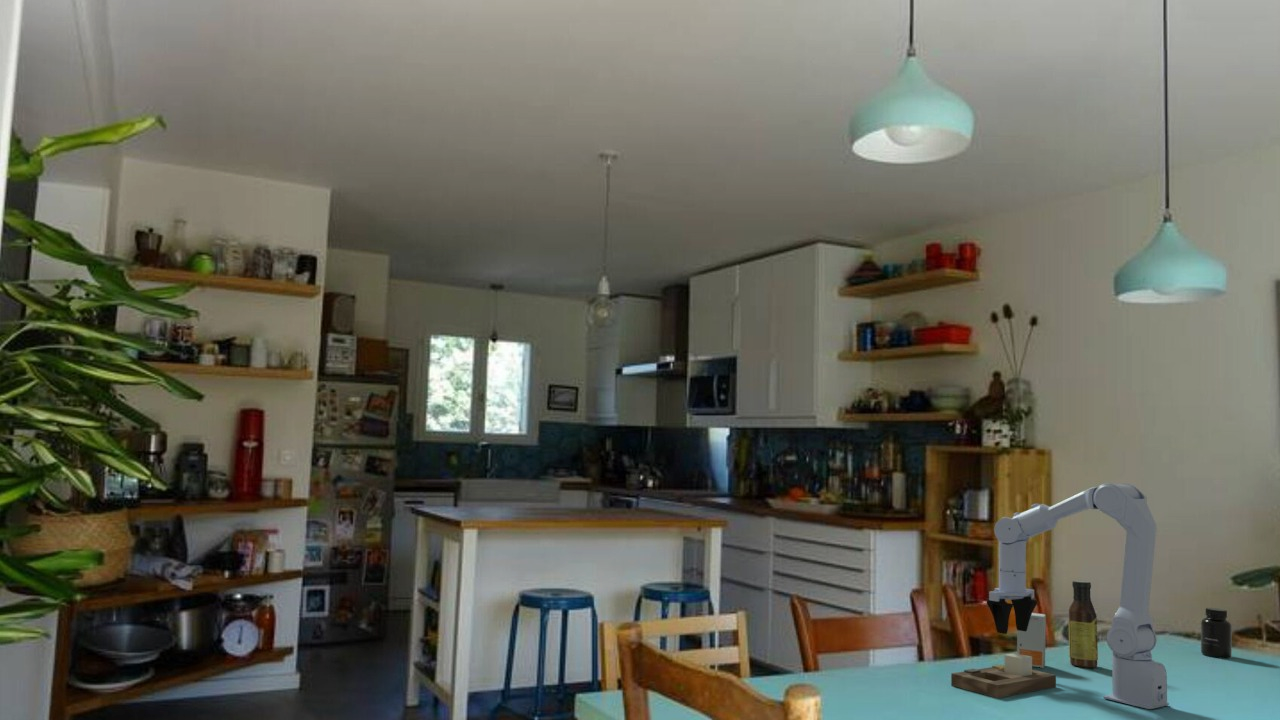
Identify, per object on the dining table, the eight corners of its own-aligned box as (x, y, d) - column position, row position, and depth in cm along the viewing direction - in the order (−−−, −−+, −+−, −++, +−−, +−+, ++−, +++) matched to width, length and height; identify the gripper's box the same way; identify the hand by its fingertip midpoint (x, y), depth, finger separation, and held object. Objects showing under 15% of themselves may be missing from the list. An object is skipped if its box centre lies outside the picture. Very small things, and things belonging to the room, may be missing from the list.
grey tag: (980, 672, 199) (980, 670, 199) (971, 673, 197) (971, 671, 197) (973, 670, 201) (973, 668, 201) (964, 672, 199) (964, 670, 199)
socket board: (1055, 686, 200) (1055, 674, 200) (997, 698, 188) (997, 685, 188) (1009, 675, 209) (1009, 664, 209) (951, 685, 197) (951, 673, 197)
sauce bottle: (1102, 669, 220) (1102, 583, 222) (1076, 668, 220) (1075, 582, 222) (1090, 663, 226) (1089, 580, 228) (1064, 662, 226) (1063, 579, 228)
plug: (1032, 685, 200) (1032, 656, 201) (1021, 687, 198) (1021, 658, 199) (1015, 681, 204) (1015, 653, 204) (1004, 683, 201) (1004, 654, 202)
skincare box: (1016, 664, 221) (1016, 613, 222) (1018, 661, 224) (1018, 611, 226) (1044, 668, 218) (1044, 616, 219) (1045, 665, 222) (1045, 614, 223)
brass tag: (1008, 667, 205) (1008, 666, 205) (999, 669, 203) (999, 667, 203) (1000, 666, 206) (1000, 664, 206) (992, 667, 205) (992, 665, 205)
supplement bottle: (1205, 657, 241) (1204, 609, 242) (1198, 652, 247) (1197, 606, 248) (1235, 659, 239) (1234, 612, 240) (1227, 654, 245) (1226, 608, 246)
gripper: (1015, 567, 220) (1014, 626, 218) (977, 569, 211) (977, 631, 210) (1042, 571, 214) (1042, 632, 212) (1005, 573, 206) (1005, 636, 204)
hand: (1011, 631), depth 211 cm, fingers open, 7 cm apart
